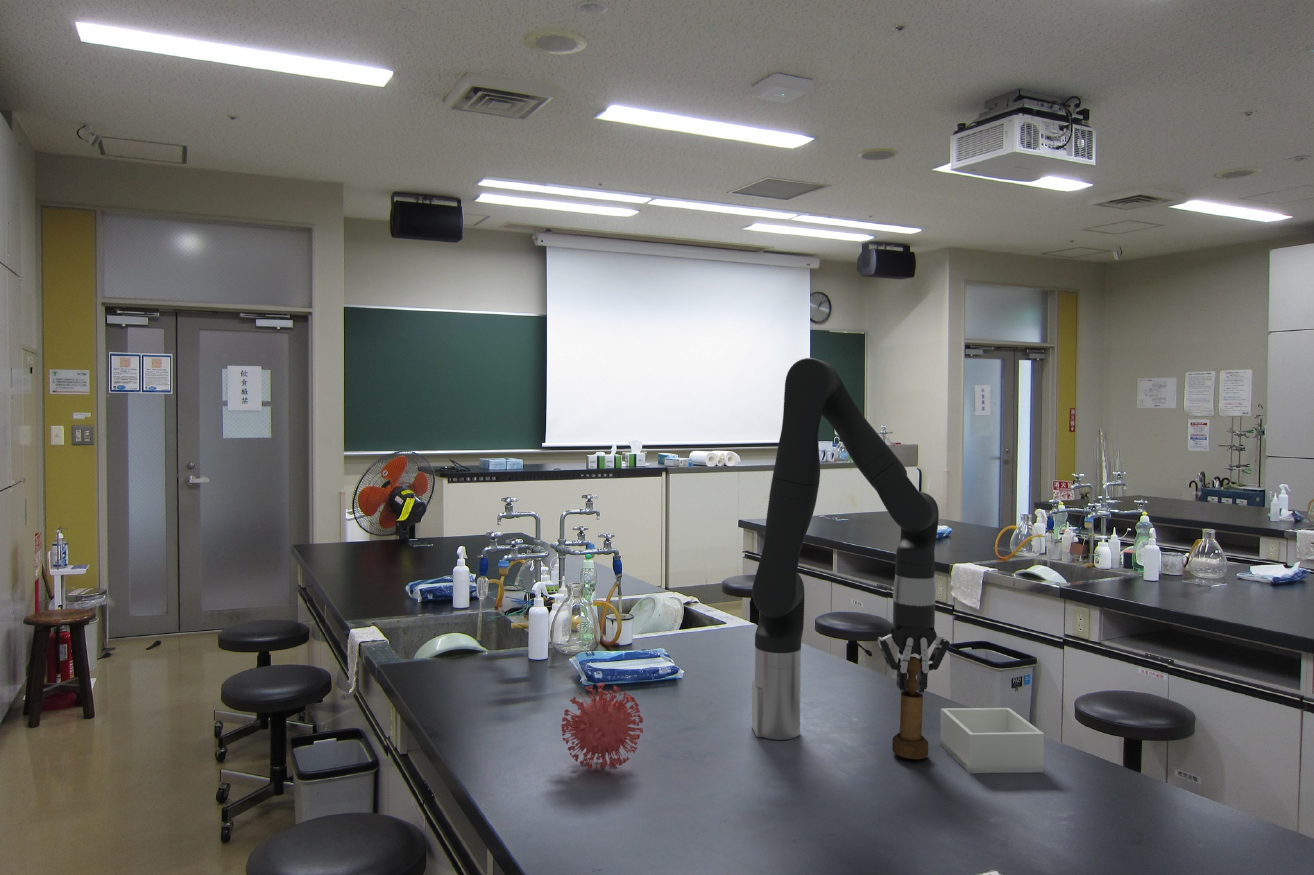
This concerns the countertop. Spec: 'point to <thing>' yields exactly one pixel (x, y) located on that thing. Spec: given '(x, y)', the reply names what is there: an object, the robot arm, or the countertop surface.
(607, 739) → the virus model
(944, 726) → the box
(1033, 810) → the countertop surface
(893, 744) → the mortar and pestle
